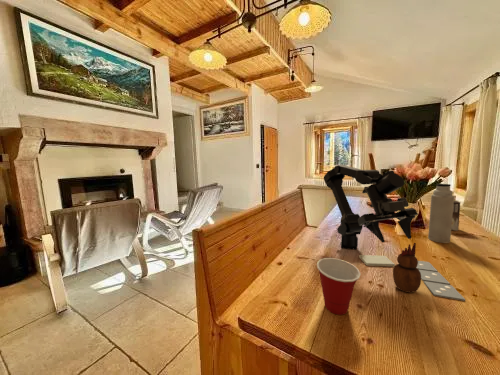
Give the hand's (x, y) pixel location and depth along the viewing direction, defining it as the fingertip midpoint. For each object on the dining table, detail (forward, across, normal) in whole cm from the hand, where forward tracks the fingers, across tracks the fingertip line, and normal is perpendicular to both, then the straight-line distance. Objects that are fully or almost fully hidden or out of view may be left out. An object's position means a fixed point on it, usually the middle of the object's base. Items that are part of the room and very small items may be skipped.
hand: (396, 240), depth 69 cm
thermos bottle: (-1, +42, +33) cm, 53 cm away
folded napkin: (+5, -2, +14) cm, 15 cm away
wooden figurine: (+15, -4, -1) cm, 15 cm away
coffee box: (-8, +62, +48) cm, 79 cm away
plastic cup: (+16, -29, -8) cm, 34 cm away
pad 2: (+13, +9, +5) cm, 16 cm away
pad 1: (+9, +12, +11) cm, 19 cm away
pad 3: (+16, +6, -2) cm, 18 cm away
